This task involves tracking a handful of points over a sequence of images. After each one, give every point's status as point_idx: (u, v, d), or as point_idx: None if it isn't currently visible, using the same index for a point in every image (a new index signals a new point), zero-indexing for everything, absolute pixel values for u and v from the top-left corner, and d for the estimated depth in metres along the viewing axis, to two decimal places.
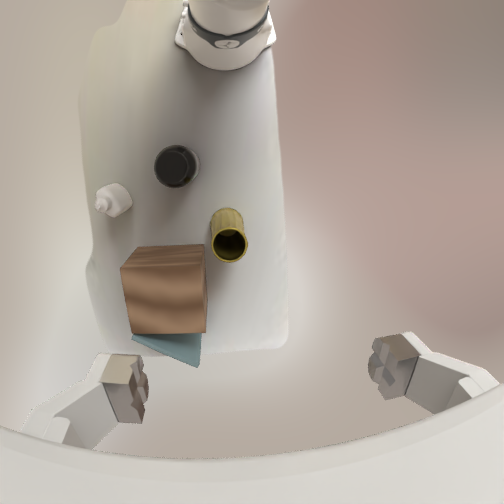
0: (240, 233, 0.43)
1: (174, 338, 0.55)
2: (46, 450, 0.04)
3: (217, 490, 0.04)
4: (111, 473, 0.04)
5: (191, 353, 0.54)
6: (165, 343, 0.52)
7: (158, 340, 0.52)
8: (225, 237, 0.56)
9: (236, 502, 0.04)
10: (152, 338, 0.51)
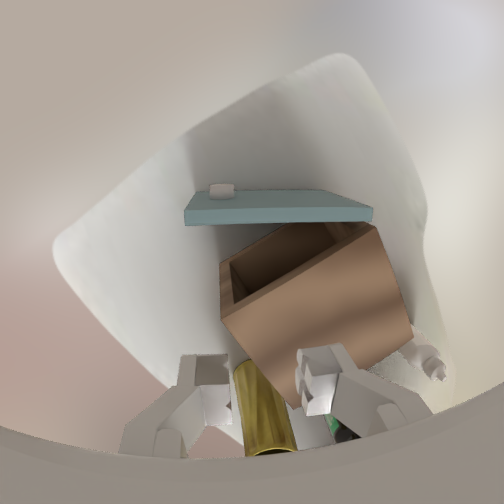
0: None
1: None
2: (46, 450, 0.04)
3: (217, 490, 0.04)
4: (111, 473, 0.04)
5: None
6: None
7: None
8: None
9: (236, 502, 0.04)
10: None
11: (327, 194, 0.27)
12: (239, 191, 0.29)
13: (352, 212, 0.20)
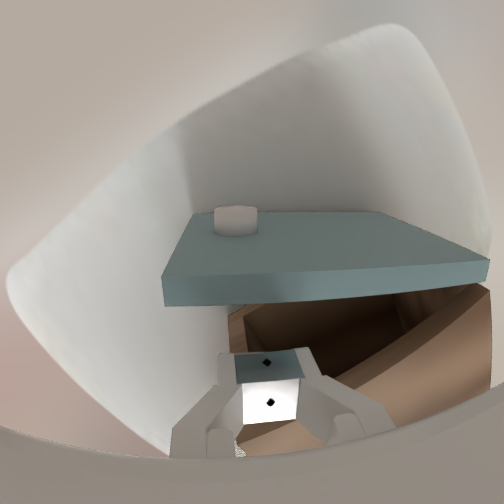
0: None
1: None
2: (46, 450, 0.04)
3: (217, 490, 0.04)
4: (112, 473, 0.04)
5: None
6: None
7: None
8: None
9: (236, 502, 0.04)
10: None
11: (395, 222, 0.17)
12: (260, 214, 0.19)
13: (466, 269, 0.10)
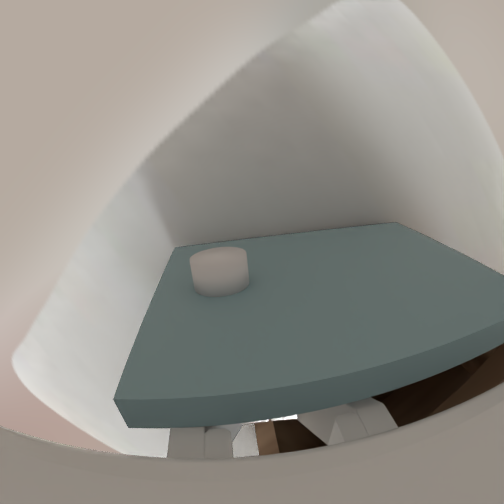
0: None
1: None
2: (46, 450, 0.04)
3: (217, 490, 0.04)
4: (111, 473, 0.04)
5: None
6: None
7: None
8: None
9: (236, 502, 0.04)
10: None
11: (421, 241, 0.13)
12: (255, 243, 0.15)
13: None
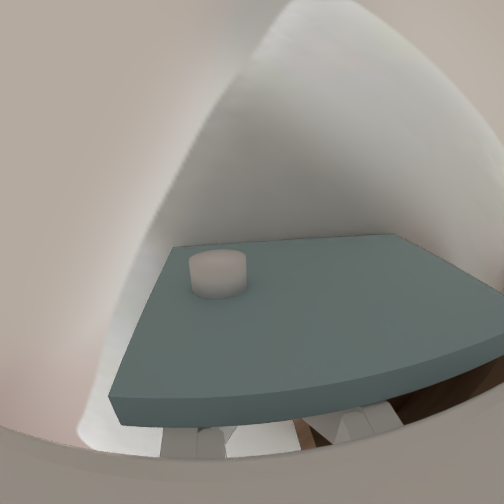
0: None
1: None
2: (46, 450, 0.04)
3: (217, 490, 0.04)
4: (111, 473, 0.04)
5: None
6: None
7: None
8: None
9: (236, 502, 0.04)
10: None
11: (418, 254, 0.13)
12: (253, 247, 0.16)
13: None
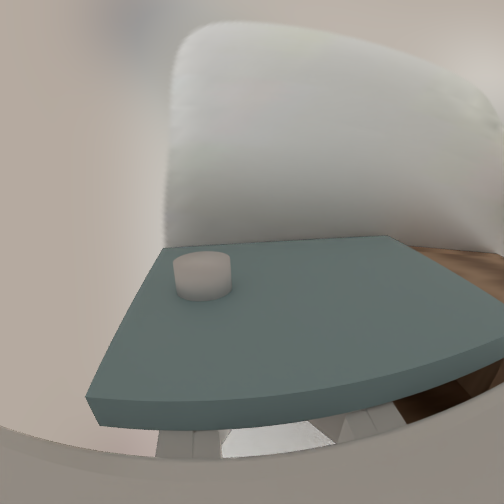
0: None
1: None
2: (46, 450, 0.04)
3: (217, 490, 0.04)
4: (112, 473, 0.04)
5: None
6: None
7: None
8: None
9: (236, 502, 0.04)
10: None
11: (411, 256, 0.13)
12: (242, 248, 0.15)
13: None
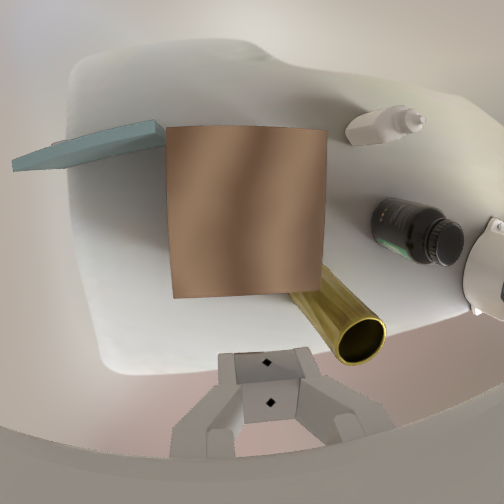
0: (373, 353, 0.26)
1: (85, 155, 0.24)
2: (46, 450, 0.04)
3: (217, 490, 0.04)
4: (111, 473, 0.04)
5: (40, 165, 0.21)
6: (89, 150, 0.21)
7: (104, 146, 0.21)
8: None
9: (236, 502, 0.04)
10: (116, 143, 0.21)
11: None
12: None
13: (133, 128, 0.20)
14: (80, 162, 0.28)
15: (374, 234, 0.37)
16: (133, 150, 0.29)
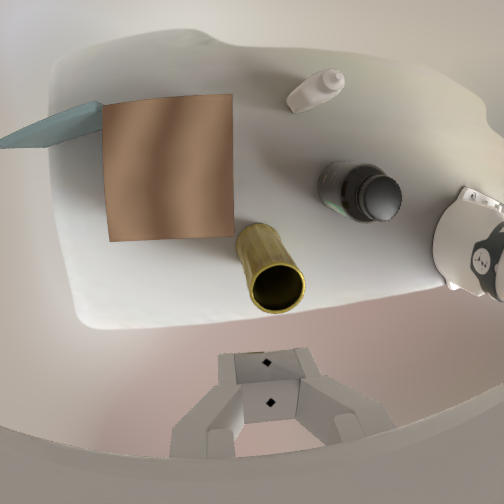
0: (294, 303, 0.28)
1: (54, 134, 0.27)
2: (46, 450, 0.04)
3: (217, 490, 0.04)
4: (111, 473, 0.04)
5: (19, 143, 0.25)
6: (53, 129, 0.25)
7: (63, 125, 0.25)
8: None
9: (236, 502, 0.04)
10: (71, 122, 0.24)
11: None
12: None
13: (80, 109, 0.23)
14: (56, 141, 0.31)
15: (320, 196, 0.39)
16: (97, 128, 0.32)
